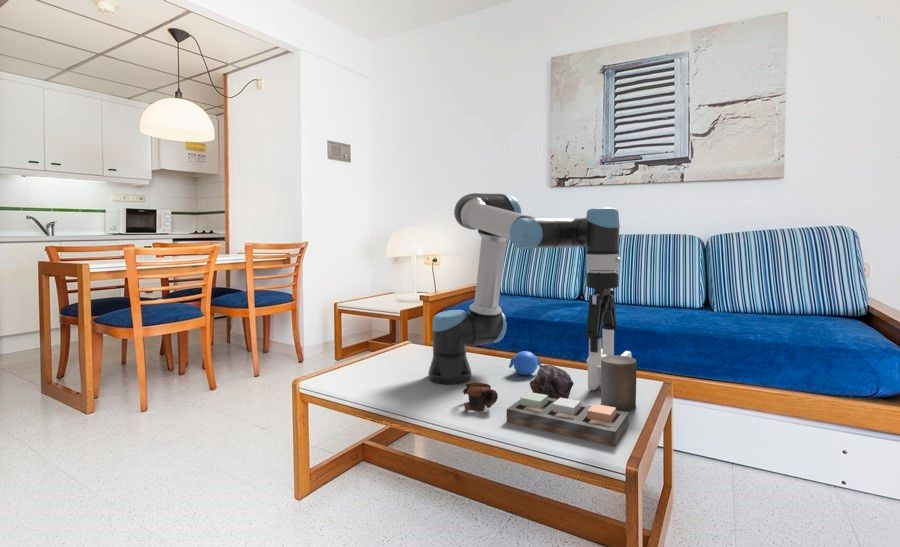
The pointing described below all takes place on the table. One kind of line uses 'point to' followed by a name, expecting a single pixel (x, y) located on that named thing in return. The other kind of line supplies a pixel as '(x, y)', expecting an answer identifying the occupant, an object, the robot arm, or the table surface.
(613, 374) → the pillar candle
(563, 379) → the rock
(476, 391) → the pottery mug
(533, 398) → the sage key
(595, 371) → the cable organizer
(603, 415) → the orange square block
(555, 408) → the white key
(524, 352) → the blue rounded piece
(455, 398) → the table surface
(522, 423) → the keypad
